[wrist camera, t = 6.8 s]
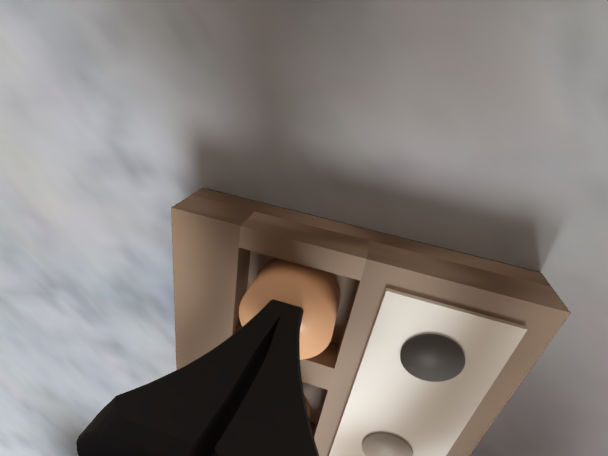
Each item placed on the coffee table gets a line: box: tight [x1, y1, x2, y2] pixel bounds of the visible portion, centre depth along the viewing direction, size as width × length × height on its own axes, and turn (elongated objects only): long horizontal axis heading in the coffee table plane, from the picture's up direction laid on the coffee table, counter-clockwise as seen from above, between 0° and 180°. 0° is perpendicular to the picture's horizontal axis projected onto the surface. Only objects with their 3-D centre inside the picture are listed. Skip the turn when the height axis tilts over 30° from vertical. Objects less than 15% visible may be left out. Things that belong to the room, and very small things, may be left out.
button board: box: [171, 188, 570, 456], centre depth 18 cm, size 15×20×3 cm
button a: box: [239, 257, 341, 360], centre depth 14 cm, size 4×4×2 cm
